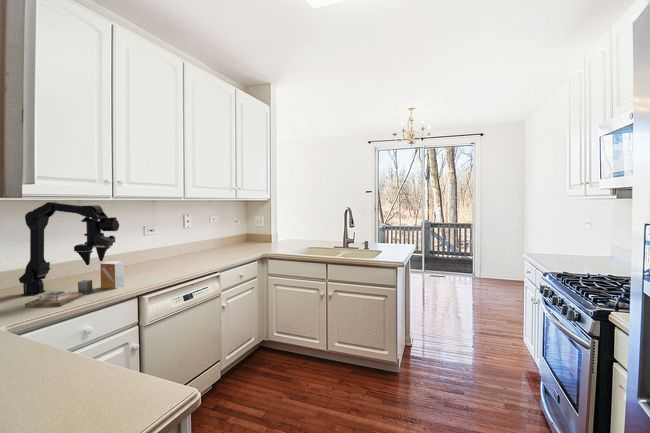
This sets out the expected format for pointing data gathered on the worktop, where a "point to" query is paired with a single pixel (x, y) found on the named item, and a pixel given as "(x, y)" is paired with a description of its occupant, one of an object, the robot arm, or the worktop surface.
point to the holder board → (54, 299)
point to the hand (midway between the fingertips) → (94, 263)
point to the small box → (112, 274)
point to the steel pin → (85, 286)
